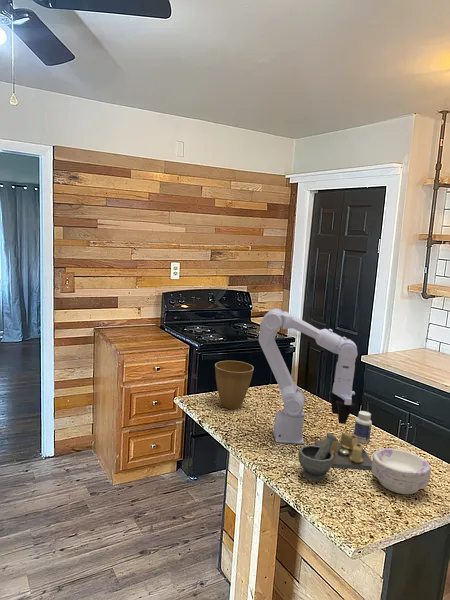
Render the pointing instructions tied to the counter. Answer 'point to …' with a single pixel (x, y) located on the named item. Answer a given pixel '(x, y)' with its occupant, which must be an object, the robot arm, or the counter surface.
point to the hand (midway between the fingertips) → (338, 418)
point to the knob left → (334, 445)
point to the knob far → (348, 440)
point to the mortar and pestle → (317, 459)
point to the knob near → (357, 454)
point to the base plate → (343, 458)
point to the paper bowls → (400, 470)
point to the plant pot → (233, 382)
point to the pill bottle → (363, 427)
